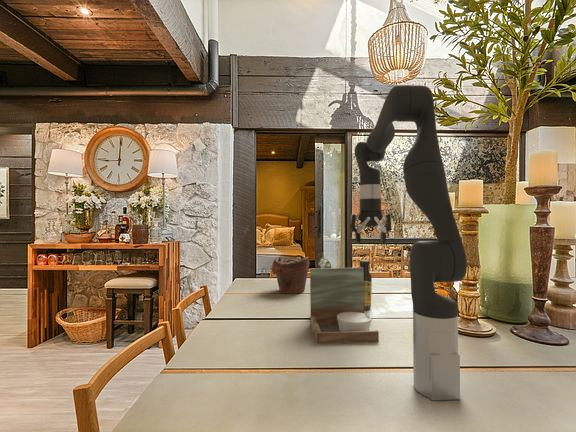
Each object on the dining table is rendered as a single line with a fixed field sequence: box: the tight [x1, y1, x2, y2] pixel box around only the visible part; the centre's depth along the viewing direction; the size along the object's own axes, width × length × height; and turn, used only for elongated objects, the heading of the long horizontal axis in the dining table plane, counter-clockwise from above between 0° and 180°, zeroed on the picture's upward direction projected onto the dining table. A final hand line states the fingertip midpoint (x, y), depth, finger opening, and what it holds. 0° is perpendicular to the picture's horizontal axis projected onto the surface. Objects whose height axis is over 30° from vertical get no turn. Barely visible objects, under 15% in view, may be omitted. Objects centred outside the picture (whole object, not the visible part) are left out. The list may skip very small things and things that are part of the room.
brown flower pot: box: [270, 256, 311, 294], centre depth 171 cm, size 18×20×18 cm
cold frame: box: [309, 267, 380, 344], centre depth 111 cm, size 17×19×20 cm
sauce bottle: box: [359, 259, 373, 311], centre depth 139 cm, size 6×6×20 cm
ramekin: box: [337, 312, 372, 332], centre depth 111 cm, size 11×11×5 cm
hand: (370, 243), depth 119 cm, fingers open, 8 cm apart
